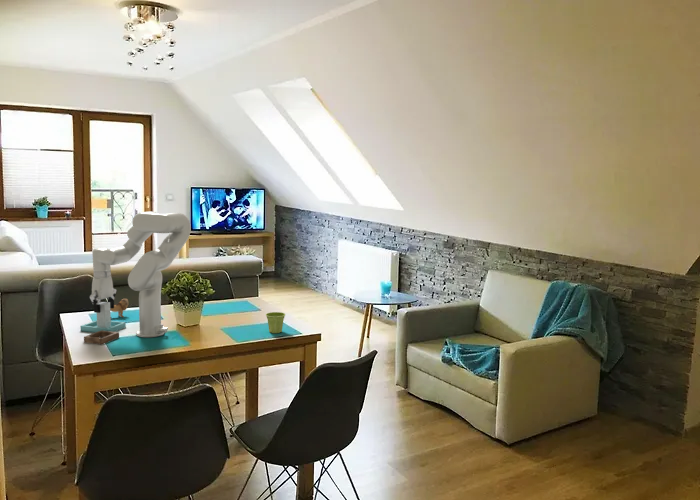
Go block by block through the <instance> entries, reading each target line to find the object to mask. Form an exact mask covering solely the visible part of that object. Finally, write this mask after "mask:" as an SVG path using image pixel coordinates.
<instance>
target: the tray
mask: <svg viewBox="0 0 700 500" xmlns="http://www.w3.org/2000/svg"><path fill="white" fill-rule="evenodd" d="M126 324H127V323H126V322H124V321H117V320H116V321H115V320H111V327H109V328H100V327H97V319H96V320H94V321H91V322H88V323H84V324H82V325H80V332H86V333H91V334H93V333H95V332H98V331H101V330H103V331H111V332H119V331H121V330H124V329H125V328H127V327H126V326H127V325H126Z"/></svg>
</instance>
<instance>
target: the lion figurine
mask: <svg viewBox="0 0 700 500" xmlns="http://www.w3.org/2000/svg"><path fill="white" fill-rule="evenodd" d="M128 307H129V299H128V298H123V299H121V300H120V301H119V302H117V304H114V308H110V312H113V313H118V316H119V317H121V318H124V317H125V316H124V311H126V310H127V308H128Z"/></svg>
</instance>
